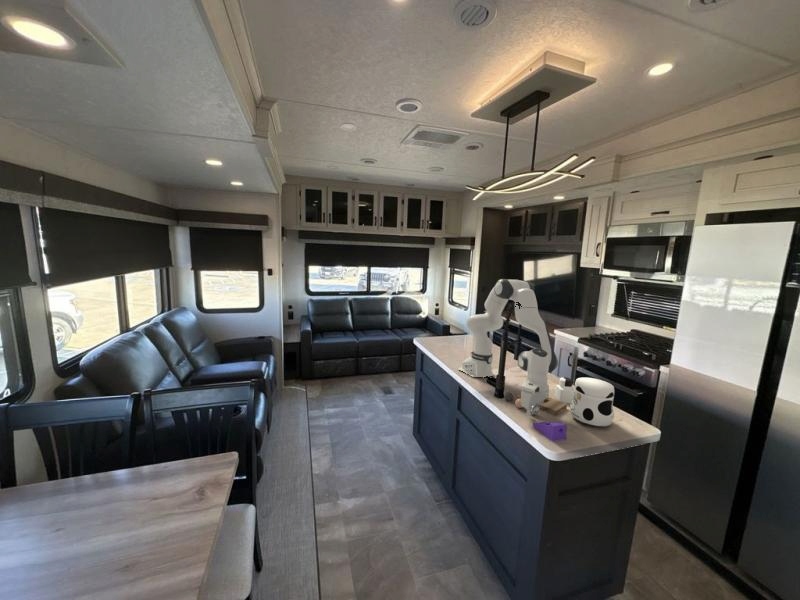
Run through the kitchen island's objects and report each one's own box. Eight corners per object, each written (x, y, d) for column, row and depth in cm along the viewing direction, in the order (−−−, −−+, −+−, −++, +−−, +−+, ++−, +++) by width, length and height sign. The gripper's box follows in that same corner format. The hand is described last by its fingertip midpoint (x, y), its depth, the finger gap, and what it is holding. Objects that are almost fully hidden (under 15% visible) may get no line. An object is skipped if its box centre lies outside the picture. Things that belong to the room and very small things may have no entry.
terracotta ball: (513, 407, 159) (513, 398, 159) (517, 404, 162) (518, 396, 162) (521, 410, 156) (522, 401, 155) (526, 407, 159) (526, 399, 158)
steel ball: (527, 413, 153) (527, 405, 152) (531, 411, 156) (532, 402, 155) (536, 417, 149) (536, 408, 149) (540, 414, 152) (541, 406, 152)
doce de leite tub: (561, 411, 156) (565, 376, 153) (594, 411, 158) (598, 376, 155) (585, 431, 139) (589, 392, 136) (621, 430, 140) (627, 391, 138)
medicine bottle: (568, 397, 172) (570, 376, 170) (574, 403, 165) (576, 381, 163) (554, 396, 173) (556, 375, 171) (559, 402, 166) (561, 380, 164)
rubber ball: (502, 399, 167) (503, 391, 167) (507, 397, 170) (507, 389, 170) (510, 402, 164) (510, 394, 163) (514, 400, 167) (515, 392, 166)
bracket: (565, 439, 132) (567, 424, 131) (551, 441, 131) (553, 426, 130) (546, 424, 144) (547, 410, 143) (532, 426, 142) (534, 412, 141)
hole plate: (516, 400, 167) (517, 396, 166) (528, 394, 174) (529, 390, 174) (555, 415, 152) (555, 410, 151) (566, 408, 159) (566, 403, 159)
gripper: (540, 376, 159) (538, 402, 161) (519, 386, 146) (516, 414, 148) (553, 380, 155) (550, 407, 156) (532, 391, 142) (529, 420, 143)
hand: (534, 411), depth 152 cm, fingers open, 8 cm apart
